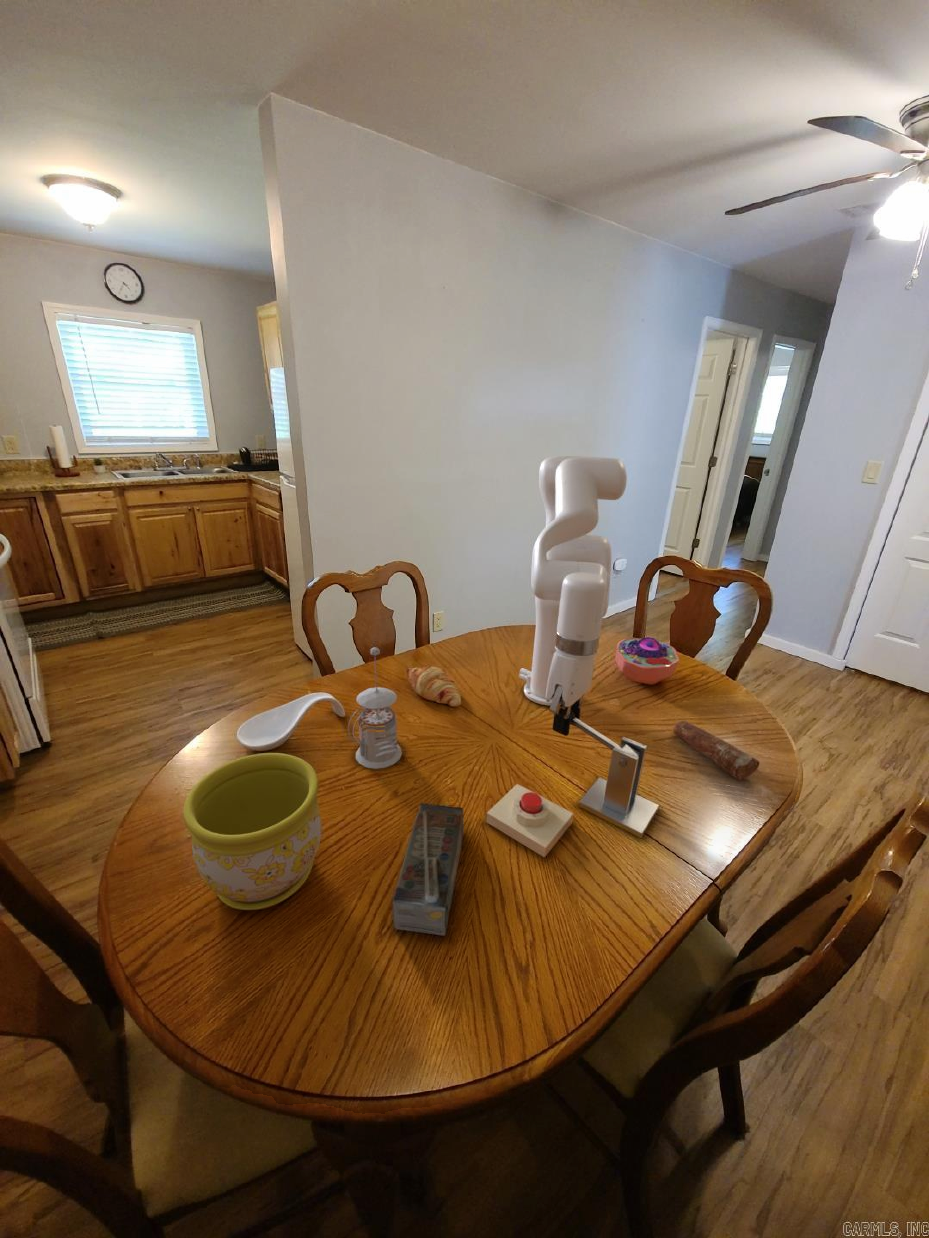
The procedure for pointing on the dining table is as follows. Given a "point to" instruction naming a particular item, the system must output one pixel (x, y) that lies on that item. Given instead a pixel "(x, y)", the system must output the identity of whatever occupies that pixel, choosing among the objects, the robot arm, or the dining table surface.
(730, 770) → the salami
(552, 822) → the button block
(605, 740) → the lever
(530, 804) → the button
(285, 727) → the spoon rest
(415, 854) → the grey printed box
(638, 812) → the bracket
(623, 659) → the cell model
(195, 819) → the flowerpot
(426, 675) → the croissant
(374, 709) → the french press
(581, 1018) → the dining table surface
